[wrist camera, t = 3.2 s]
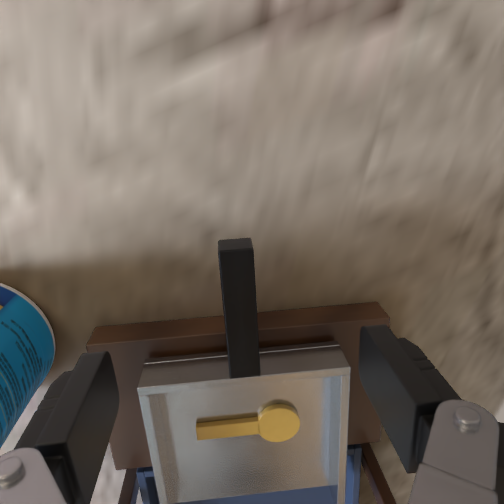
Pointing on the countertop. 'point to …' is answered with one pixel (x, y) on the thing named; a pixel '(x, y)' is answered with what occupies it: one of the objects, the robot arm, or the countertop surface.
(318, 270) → the countertop surface
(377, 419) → the stand
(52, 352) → the beverage bottle
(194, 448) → the grey dustpan
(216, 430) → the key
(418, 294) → the countertop surface
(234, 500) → the tray
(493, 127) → the countertop surface
